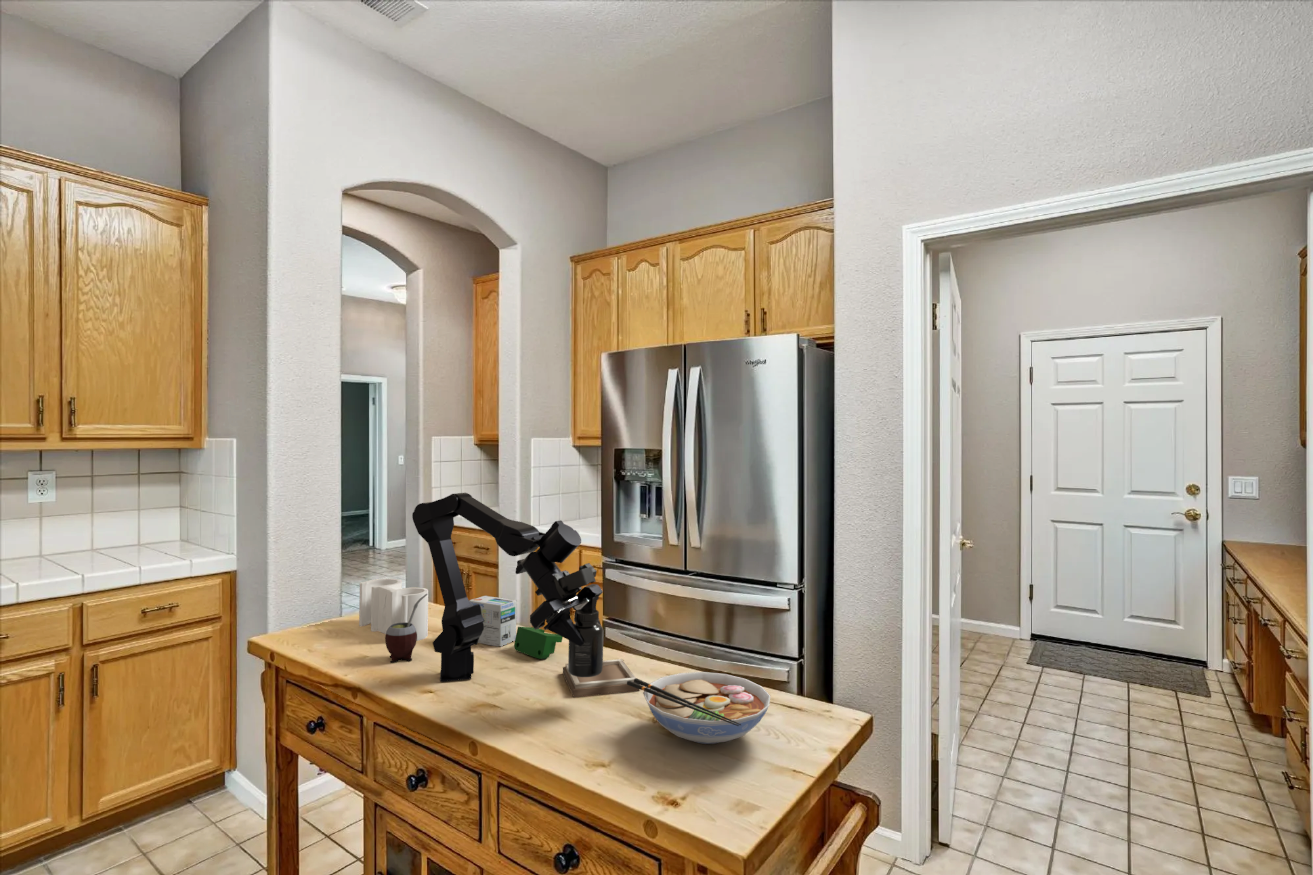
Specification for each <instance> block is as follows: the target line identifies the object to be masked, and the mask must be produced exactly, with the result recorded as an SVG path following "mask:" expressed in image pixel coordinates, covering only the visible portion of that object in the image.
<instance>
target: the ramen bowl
mask: <svg viewBox="0 0 1313 875" xmlns="http://www.w3.org/2000/svg"><path fill="white" fill-rule="evenodd" d="M634 682H635V683H634ZM634 682H632V681H627V685H629V686H632V687H635V688H637V689H640V690H639V691H643V692H642V695H643V696H644V699H645V700H646V704H647V705H648V707H649V710H650V712H651V713H652V715H653V717H654V719H655V720H656V721H657V722H658V724H660V726H662V727H663V728H665V729H666V730H667V731H668V732H670V733H671V734H673V735H675V736H676V737H679V738H682V739H685V740H688V741H690V742H695V743H697V744H703V745H716V744H720V743H724V742H725V743H726V742H729V741H732V740H736V739H739V738H742V737H743V736H745V735H746V734H747V733H748V732H750V731H751V730H752V729H754V728H755V727H756V726H757V725H758V724H759V723H760V721H761V720H762V719H763V717H764V716H765V714H766V712H767V710H769V707H770V704H771V695H770V694H769V693H768V691H767V690H765V688H764V687H763V686H761V685H760V684H757V683H755V682H753V681H751V680H749V679H746V678H743V677H739V676H736V675H735V676H734V675H731V674H727V673H718V672H708V671H696V672H695V671H694V672H679V673H674V674H671V675H665V676H660V678H657V679H656V680H653V681H652V682H650V683H649V682H647V681H643V680H642V679H639V678H638V677H636V679H634ZM639 684H640V685H639Z"/></svg>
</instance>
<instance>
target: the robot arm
mask: <svg viewBox="0 0 1313 875" xmlns="http://www.w3.org/2000/svg"><path fill="white" fill-rule="evenodd" d="M458 516H460V517H462V518H463V519H464V520H466V521H468V522H470V523H472V524H473V525H474V526H475V527H477V528H480V530H483V531H484V532H486V533H487V534H489V535H491V537H492V538H494V540H495V542H496V545H497V546H498V547H499V548H500V549H501V550H503V552H505V553H506V554H507V555H508V556H510V557H518V556H522V555H525V554H528V555H527V556H526V557H525V558H524V559H523V558H522V559H519V560H517V561H516V568H515V574H516V575H520V574H523V573H527V575H528V576H529V578H530V580H531V581H532V582H533V583H534V585H535V587H536V588H537V589H536V590H535V592H534V593H535V595H536V596H541V595H542V597H543V598H544V599H545V600H544V601H543V602H542V603H540V604H539V605H538V607H537V608H536V609H534V610H533V612H532V613H531V614H530V615H529V623H530V625H531V626H532V627H533V628H534V629H535V630H536V629H542V628H543V630H545V631H546V630H547V631H549V632H551V633H553V634H558V635H560V636H562V637H563V638H564V639H566V640H568V642H569V641H571V642H573V643H575V644H577V645H579V646H582V645H583V644H584V641H583V639H582V637H581V635H580V633H579V631H578V630H577V628H576V627H575V625H574V624H575V622H573V620H572V617H571V609H573V610H574V611H576V610H579V609H595V610H597V602H598V600H599V598H600V596H601V595H602V594H603V593H604V590H602V588H601V586H599V584H596V582H597V580H596V576H597V569H595V567H594V566H593V565H591V563H590V562H588V563H584V564H582V565H579V567H578V570H577V571H574V572H572V573H570V572H569V571H568V570H563V571H562V570H561V569H560V568H559V566H558V565H557V564H561V563H562V564H563V563H564V562H565V560H566V559H567V558H568V557H570V555H572V553H574V551H575V550H577V549H578V547H579V546H581V543H582V538H581V536H580V534H579V532H578V530H576V529H574V528H573V527H571V526H570V525H568V524H565V523H564V522H563V520H556V521H554V522H553V523H552V525H551V526H550V528H549V529H547V531H546V532H542V531H540V530H538V528H536V527H535V526H533V525H531V524H528V523H525V522H522V521H518V520H514V519H513V520H512V519H510V518H507V517H505V516H504V515H502V514H500V513H499V512H498V511H496V510H493V509H492V508H490V507H489V506H487V505H486V504H484V503H482V502H481V501H479V500H478V499H476V498H474V497H473V496H472V495H471V494H470V493H468V492H459V493H458V492H457V493H456V492H455V493H451V494H449V495H447V496H445V497H443V498H440V499H436V500H433V501H429V502H421V503H419V504H417V505H416V506H415V507H414V510H413V512H412V516H411V517H412V521H413V524H414V526H415V529H416V532H417V533H418V535H419V536H420V538H422V539H423V540H424V541H425V542H426V543H427V544H428V548H429V551H430V555H431V560H432V562H433V567H434V569H435V574H436V578H437V582H438V585H439V589H440V592H441V596H442V599H443V604H444V609H443V612H442V617H441V627H442V631H441V633H440V634H438V636H437V637H436V638H435V639H434V640H433V641H432V646H433V651H434V652H435V653H438V654H440V656H441V657H440V673H439V674H440V675H439V682H441V683H444V682H455V681H467V680H469V681H470V680H472V675H473V674H474V671H475V670H474V669H475V668H474V667H475V666H474V664H475V660H474V659H475V653H474V651H472V647H473V646H476V645H478V640H479V637H480V636H481V634H482V631H483V630H484V624H483V622H484V621H485V620H484V618H483V616H482V613H481V607H480V605H479V604H476V605H473V604H472V603H471V602H470V601H469V600H470V599H469V598H468V595H467V592H466V588H465V584H464V581H463V578H462V574H461V570H460V567H459V562H458V560H457V556H456V551H455V548H454V544H453V539H452V534H453V529H454V526H455V521H454V518H456V517H458ZM556 563H557V564H556ZM590 583H591V584H590ZM582 587H583V588H582ZM574 617H575V614H574ZM546 623H547V624H546ZM598 624H600V625H601V624H602V623H601V621H600V620H599V621H598ZM601 626H602V625H601Z"/></svg>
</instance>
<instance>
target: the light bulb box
mask: <svg viewBox="0 0 1313 875" xmlns="http://www.w3.org/2000/svg"><path fill="white" fill-rule="evenodd" d="M468 600H469V601H470V602H471V603H472V604H473V605H476V604H479V605H480V607H481V613H482V616H483V618H484V620H485V621H484V622H483V624H484V630H483V631H482V634H481V636H480V637H479V640H478V643H479V644H482V645H487V646H494V647H498V646H501V647H503V645H504V646H506V645H508V644H510V643H513V642H515V638H516V633H517V599H511V598H505V597H504V598H502V597H496V596H495V597H494V596H489V595H482V596H480V597H477V598H472V599H468ZM512 641H513V642H512ZM478 643H477V644H478ZM507 643H508V644H507Z"/></svg>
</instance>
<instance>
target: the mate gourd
mask: <svg viewBox="0 0 1313 875" xmlns="http://www.w3.org/2000/svg"><path fill="white" fill-rule="evenodd" d="M426 595H427V594H425V595H424V596H423V597H421V598H420V599H419V600H418V601H417V602H416V603H415V605H414V609H413V611H412V614H411V617H410V619H409V622H408V623H396V624H392V625H391V626H390V627H389V628H388V629H387V631H386V634H384V635H385V636H384V641H385V645H386V646H385V647H386V649H387V652H388V653H389V654H390V655H389V659H391V660H390V661H389V663H390V664H395V663H397V662H399V661H404V662H412V661H413V658H412V655H413V651H414V649H415V647H416V644H417V632H416V628H415V626H414V625H413V624H412V623H411V621H412V618H413V615H414V613H415V610H416V608H417V606H418V603H419V602H420V601H421V600H422V599H423V598H424V597H425V596H426Z"/></svg>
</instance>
